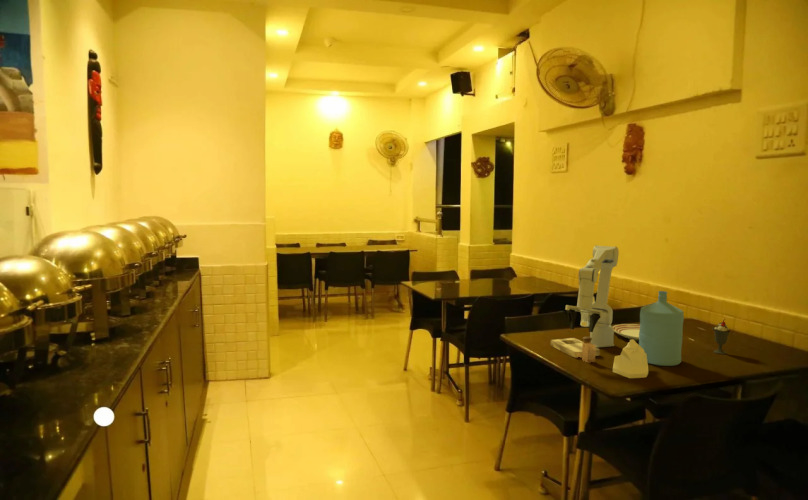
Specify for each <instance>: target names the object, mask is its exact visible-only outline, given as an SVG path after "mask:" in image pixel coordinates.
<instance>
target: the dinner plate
mask: <svg viewBox="0 0 808 500" xmlns="http://www.w3.org/2000/svg"><path fill="white" fill-rule="evenodd" d="M612 327H613V330H614V333H616V334H617V335H620V336H622V337H623V338H625V339H628V340H632V339H634V341H635V342H639V331H640V324H636V323H621V324H615V325H612Z"/></svg>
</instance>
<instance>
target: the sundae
mask: <svg viewBox="0 0 808 500" xmlns="http://www.w3.org/2000/svg"><path fill="white" fill-rule="evenodd" d="M712 331H713V333H714V341H715V343H717V345H718V349H717V350H716V349H715V350H713V353H714V354H718V355H727V354H728V352H727V351H724V350H723V345H725V344H726V343H727V341H728V337H729V333H731V331H732V330H731V329H729V328H728V325H727V323H726V318H724V320H722V321H721V322H718V324H717V325H716V326H713V327H712Z"/></svg>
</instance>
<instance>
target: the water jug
mask: <svg viewBox="0 0 808 500" xmlns="http://www.w3.org/2000/svg"><path fill="white" fill-rule="evenodd" d="M657 293H658V297H657V301H656V302H652V303H650V304H646V305H643V306H641V307H640V311H639V325H640V331H639V341H638V345H640V346H641V347H642V348H643V349H644V352H645V353H646V355H647V362H648V365H649V364H650V365H655V366H660V367H674V366H678V365H680V363H682V345H683V329H684V328H683V327H684V320H685V319H684V317H685V316H684V311H683V309H680V308H678V307H677V306H675V305H673V304H671V303H670V302H668V301H667V300H668V295H667V294H668V292H667V291H664V290H663V291H662V290H659V291H657Z"/></svg>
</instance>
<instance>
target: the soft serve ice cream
mask: <svg viewBox="0 0 808 500" xmlns="http://www.w3.org/2000/svg"><path fill="white" fill-rule="evenodd" d="M612 373H614V374H616V375H620V376H621V377H625V378H628V379H641V378H643V379H644V378H647V377H648V375H649V363H648V362H647V355H646V353H645V352H644V349H643V348H642V347H641V346H640V345H639V343H637V341H635V340H634V339H632V340H631V339H629V342H627V345H626V346H624V347H623V348H622V350H621V352H620V355H614V359H613V365H612Z"/></svg>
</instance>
